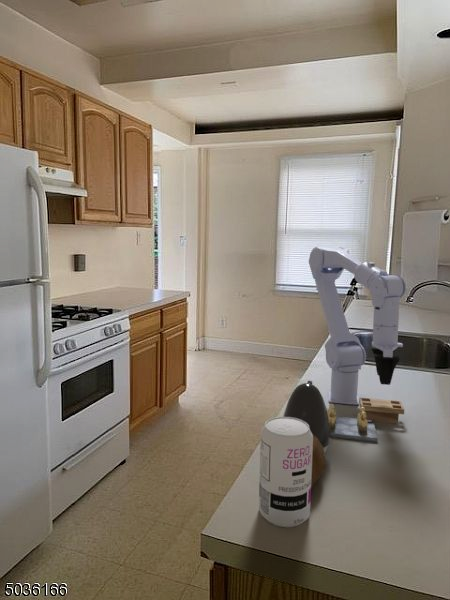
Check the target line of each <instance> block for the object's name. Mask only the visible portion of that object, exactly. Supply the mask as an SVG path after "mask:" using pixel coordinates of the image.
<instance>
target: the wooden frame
mask: <svg viewBox="0 0 450 600" xmlns="http://www.w3.org/2000/svg"><path fill="white" fill-rule="evenodd" d="M358 399H359V407H365V411H375V412H386V413H396V414H399V415H405V408H404V405H403V404H402V401H401V400H390V399H378V398H369V397H368V398H367V397H358Z"/></svg>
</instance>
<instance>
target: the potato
mask: <svg viewBox="0 0 450 600" xmlns="http://www.w3.org/2000/svg"><path fill="white" fill-rule="evenodd" d="M312 435H313V434H312ZM325 463H326V457H325V453H324V450H323V446H322V445H321V443H320V441H319V439H318V438H317V437H316V436H315V435H313V452H312V476H311V488H312V487H313V486H314V485H315V484H316V483H317V481H318V480H319V478H320V477H322V475H323V473H324V470H325V465H326V464H325Z"/></svg>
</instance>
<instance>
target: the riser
mask: <svg viewBox="0 0 450 600" xmlns="http://www.w3.org/2000/svg"><path fill="white" fill-rule="evenodd" d="M364 412H366V415H367V416H366V419H367V420H373V421H374V422H381V423H388V424H389V423H390V424H399V418H400V417H399V415H400V414H396V413H386V412H375V411H364Z"/></svg>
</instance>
